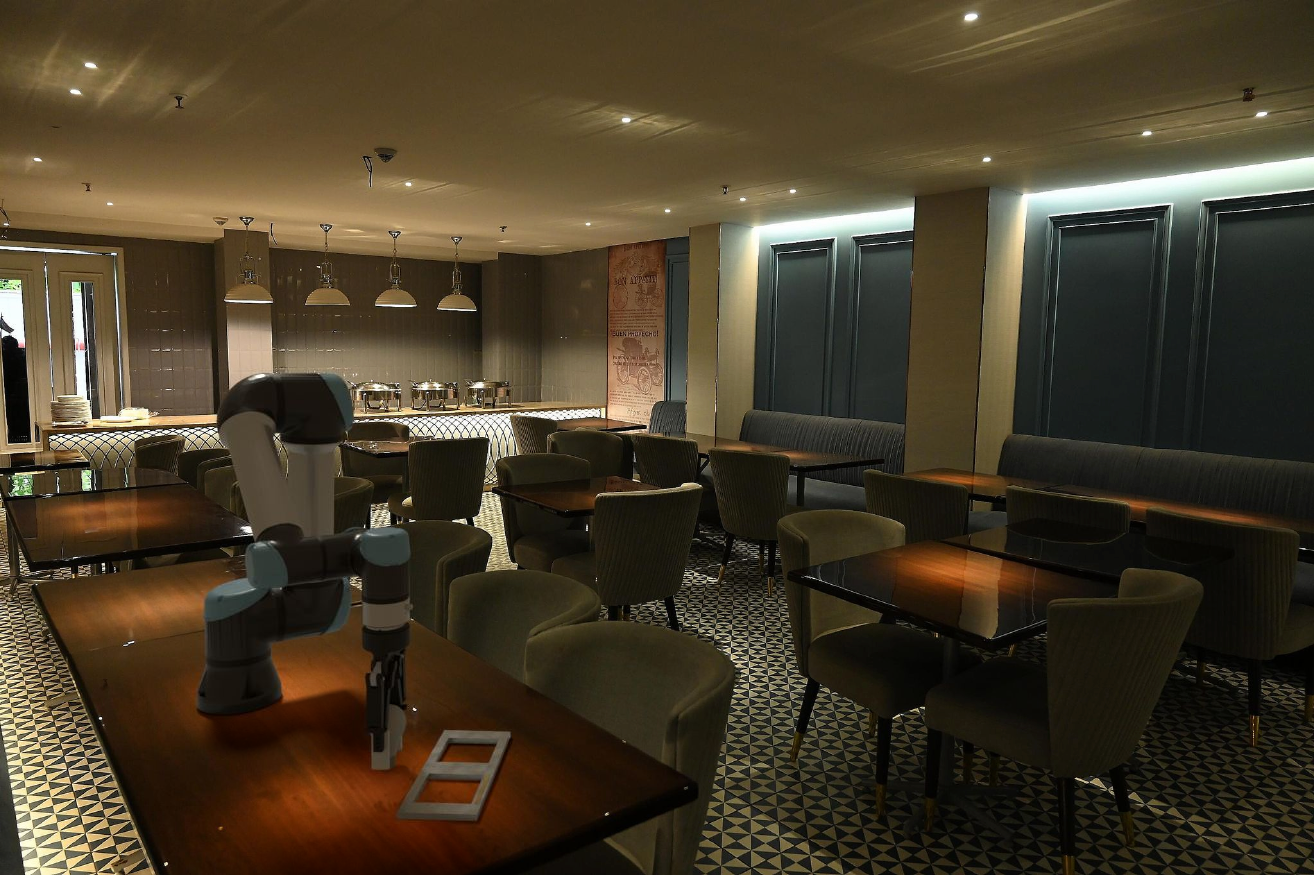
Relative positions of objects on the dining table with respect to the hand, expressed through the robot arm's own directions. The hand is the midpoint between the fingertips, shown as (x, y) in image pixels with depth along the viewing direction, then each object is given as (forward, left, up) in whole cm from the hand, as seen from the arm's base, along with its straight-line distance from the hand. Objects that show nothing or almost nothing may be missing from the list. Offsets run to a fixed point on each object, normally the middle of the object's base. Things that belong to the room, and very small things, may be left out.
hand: (387, 758), depth 143 cm
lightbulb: (0, 0, -2) cm, 2 cm away
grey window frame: (+12, -1, -2) cm, 12 cm away
